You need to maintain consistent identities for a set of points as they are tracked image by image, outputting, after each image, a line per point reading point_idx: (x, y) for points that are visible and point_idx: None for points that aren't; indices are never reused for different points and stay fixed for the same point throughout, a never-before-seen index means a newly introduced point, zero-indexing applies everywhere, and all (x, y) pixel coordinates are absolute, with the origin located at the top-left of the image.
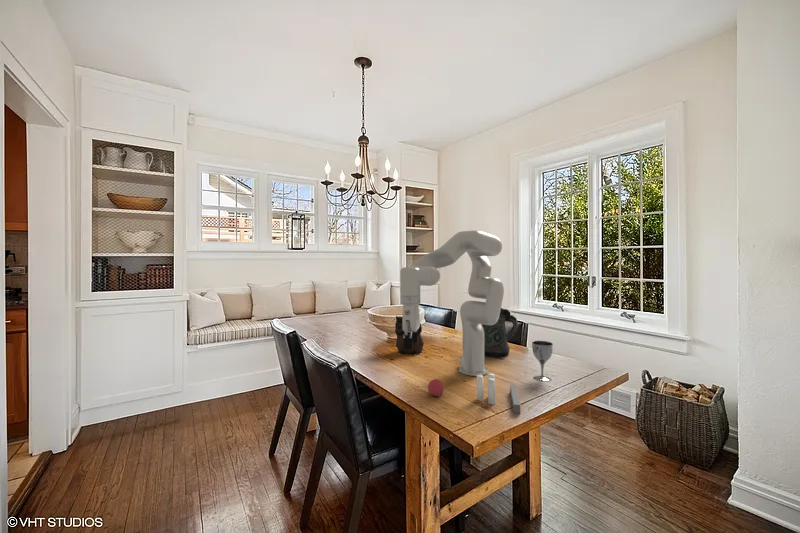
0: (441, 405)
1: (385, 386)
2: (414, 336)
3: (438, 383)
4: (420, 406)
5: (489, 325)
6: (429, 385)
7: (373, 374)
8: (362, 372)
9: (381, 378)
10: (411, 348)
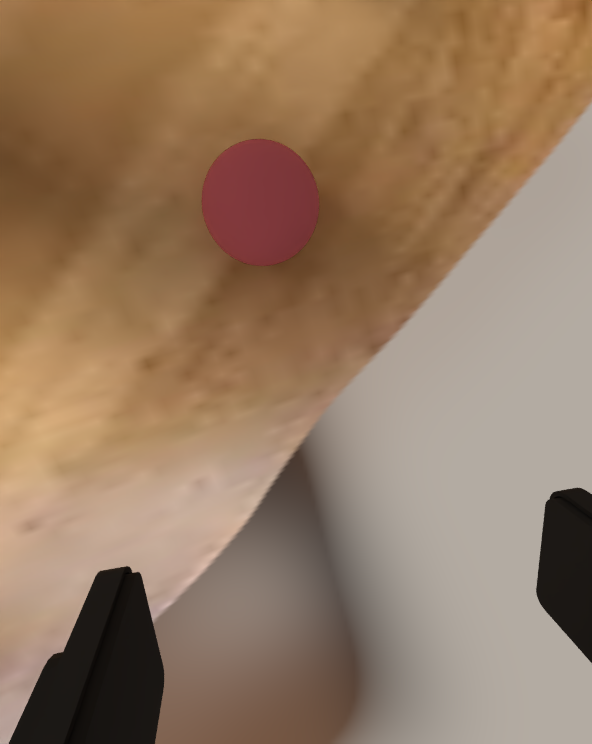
0: (384, 148)
1: (221, 526)
2: (114, 726)
3: (296, 170)
4: (420, 266)
5: None
6: (299, 246)
7: None
8: None
9: None
10: (578, 497)
